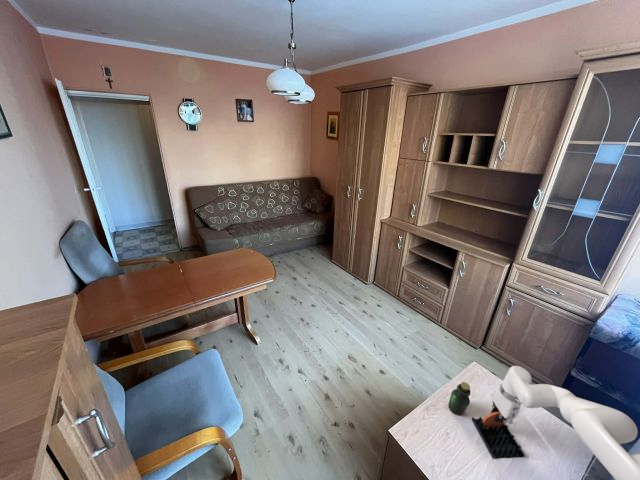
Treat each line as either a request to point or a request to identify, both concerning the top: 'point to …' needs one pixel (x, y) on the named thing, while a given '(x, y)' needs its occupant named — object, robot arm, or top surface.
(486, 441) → the rack
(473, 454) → the top surface
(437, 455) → the top surface
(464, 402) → the potion bottle
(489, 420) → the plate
